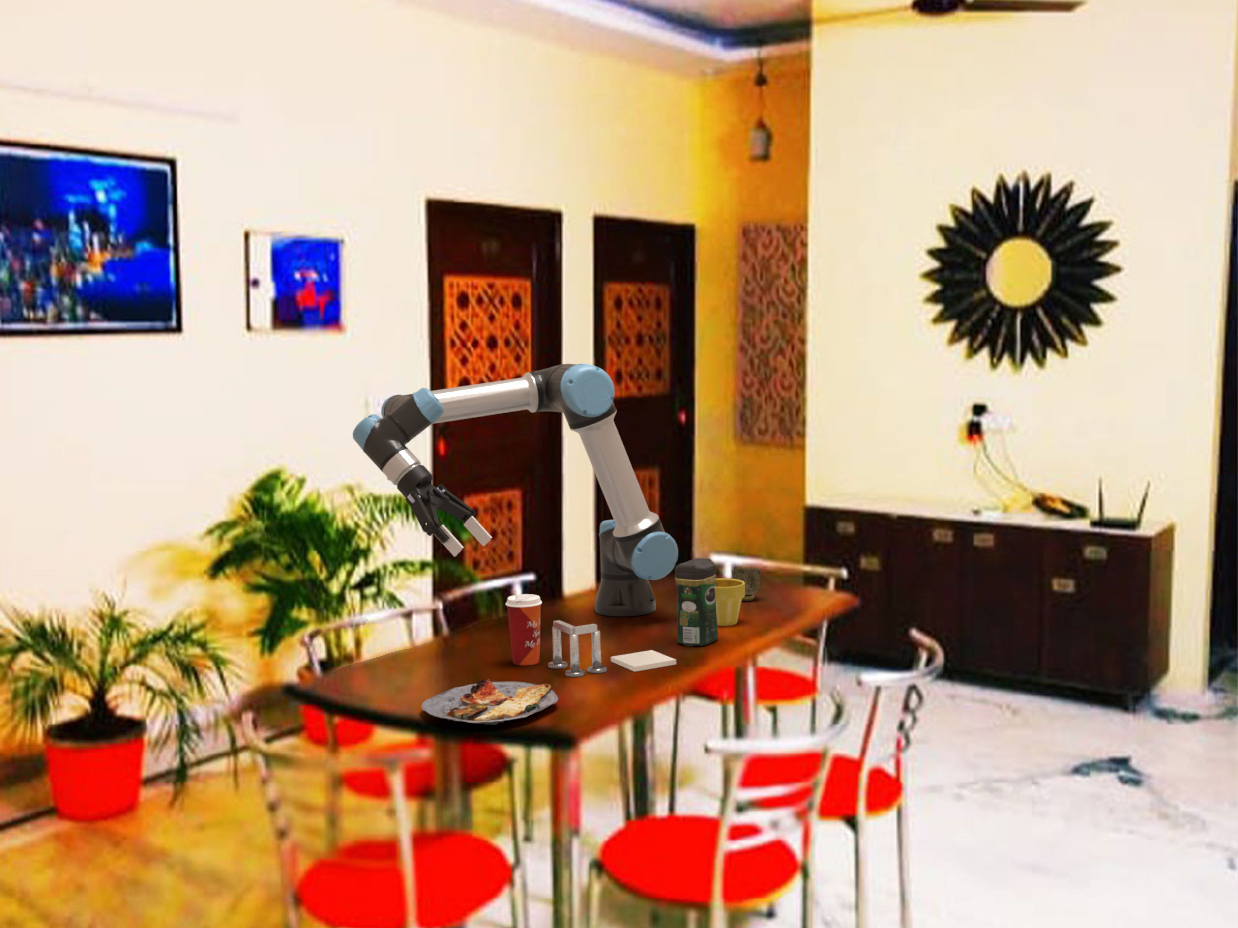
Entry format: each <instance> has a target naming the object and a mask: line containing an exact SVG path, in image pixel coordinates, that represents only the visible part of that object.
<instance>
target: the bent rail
mask: <svg viewBox="0 0 1238 928" xmlns="http://www.w3.org/2000/svg"><path fill="white" fill-rule="evenodd" d="M552 625H553V626H551V632H552V633H551V634H552V635H551V637H552V638H551V639H552V660H553V661H550V662H548V663H547V667H548V668H549V669H553V670H555V669H556V670H558V669H560V670H561V669H565V668H567V667H568V662H567V661H563V656H562V653H563V652H562V632H563V633H565V634H568V635H569V657H570V658H569V659H570V662H569V663H570V664H569V665H570V669H567V670H565V672H564V673H565V677H567V678H568V677H569V678H579V677H580V678H581V677H584V676H585V675H586V672H587V673H590V674H602V673H606V672H607V666H605V665H602V656H601V655H602V654H601V653H602V651H601V649H602V647H601V630H598V624H596V623H590V624H583V625H578V626H575V625H572V624H570V623H568V622H566V621H562V620H560V619H558V620H553V621H552ZM584 634H586V635H587V634H591V639H590V640H591V665H590V666H587V667H586V671H585V670H584V669H580V653H579V652H580V646H579V645H580V644H579V643H580V642H579V635H584Z"/></svg>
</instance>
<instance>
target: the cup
mask: <svg viewBox="0 0 1238 928" xmlns="http://www.w3.org/2000/svg"><path fill="white" fill-rule="evenodd" d="M761 573H762V569H761V568H760V569H759V567H758V568H755V567H753V568H752V567H750V568H749V569H748V568H747V567H745V568H744V567H743V568H742V567H740V566H739V567H738V568H737V567H736V568H734V570H731V576H732V577H731V578H732V579H737V580H741V581H743V582H745V596H744V597H743V598H742V601H744V602H752V601H753V600H755V599H754V598H755V595H754V594H757V593H758V591H759V588H760V584H761ZM742 601H741V602H742Z"/></svg>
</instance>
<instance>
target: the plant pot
mask: <svg viewBox="0 0 1238 928" xmlns="http://www.w3.org/2000/svg"><path fill="white" fill-rule="evenodd" d="M744 596H745V582H743V581H741V580H737V579H733V578H716V580H715V600H716V615H717V626H718V627H730V626H735V625H737V623H738V621H739V615H740V611H741V605H742V598H743V597H744Z"/></svg>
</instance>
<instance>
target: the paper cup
mask: <svg viewBox="0 0 1238 928" xmlns="http://www.w3.org/2000/svg"><path fill="white" fill-rule="evenodd" d="M542 603H543V601H542V600H541V597H540V595H537V594H532V593H531V594H529V593H523V594H521V593H520V594H515V595H514V594H513V595H510V596H508V597H507V599H506V602H505V606H506V607H507V609H506V610H507V617H508V627H509V628H508V629H509V638H510V649H511V657H512V663H513V665H516V666H523V667H524V666H527V667H528V666H533V665H537V664H539V663H540V655H541V654H540V653H541V652H540V650H541V649H540V648H541V612H542V611H541V609H542Z"/></svg>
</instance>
